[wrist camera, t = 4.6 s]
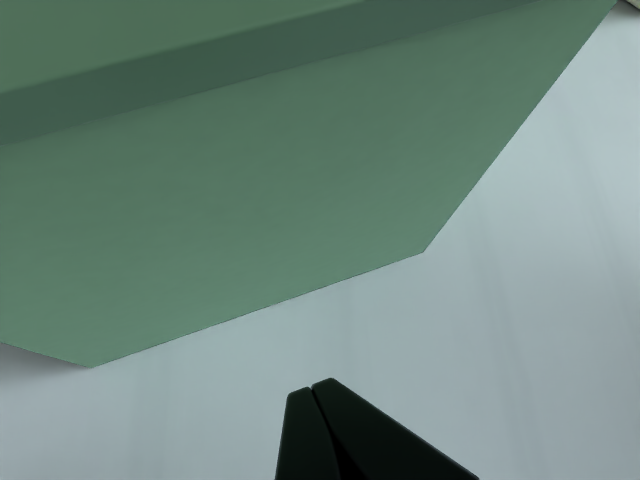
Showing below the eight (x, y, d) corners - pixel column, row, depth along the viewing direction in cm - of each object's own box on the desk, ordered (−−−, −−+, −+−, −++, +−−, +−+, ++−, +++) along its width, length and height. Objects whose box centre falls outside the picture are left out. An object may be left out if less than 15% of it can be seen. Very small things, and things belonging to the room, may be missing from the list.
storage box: (435, 257, 19) (739, -96, 6) (82, 381, 16) (-584, 238, 4) (331, 33, 22) (388, -505, 9) (24, 112, 20) (-447, -444, 7)
